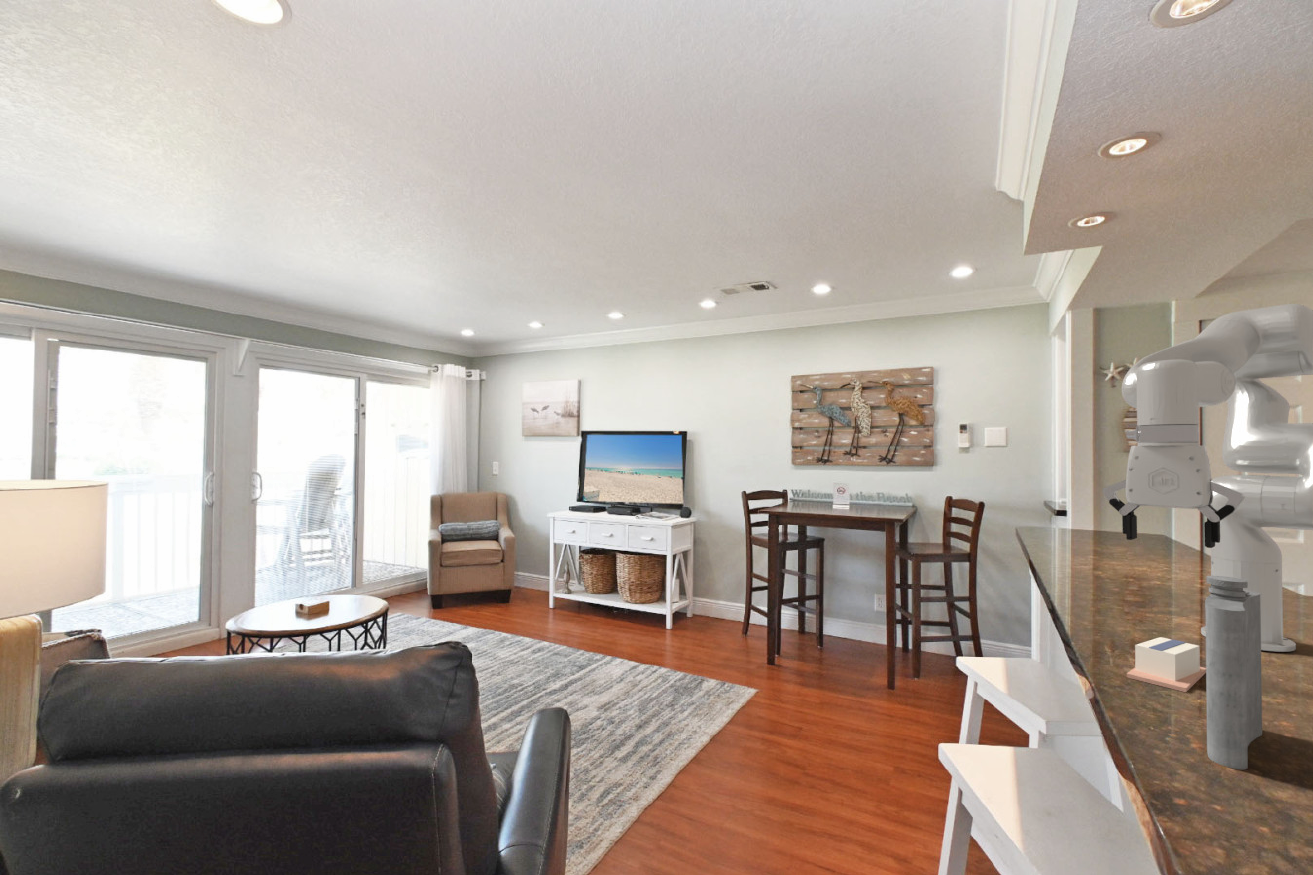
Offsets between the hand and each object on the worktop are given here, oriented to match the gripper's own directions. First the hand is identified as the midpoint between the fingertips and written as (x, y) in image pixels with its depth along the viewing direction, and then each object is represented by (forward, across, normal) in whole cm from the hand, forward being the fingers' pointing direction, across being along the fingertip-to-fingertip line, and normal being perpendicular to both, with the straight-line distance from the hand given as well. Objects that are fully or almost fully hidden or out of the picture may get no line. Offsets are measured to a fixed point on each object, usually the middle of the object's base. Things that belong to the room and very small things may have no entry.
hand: (1169, 542), depth 93 cm
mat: (+21, 0, -1) cm, 21 cm away
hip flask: (+21, +10, -24) cm, 34 cm away
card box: (+20, 0, -1) cm, 20 cm away
